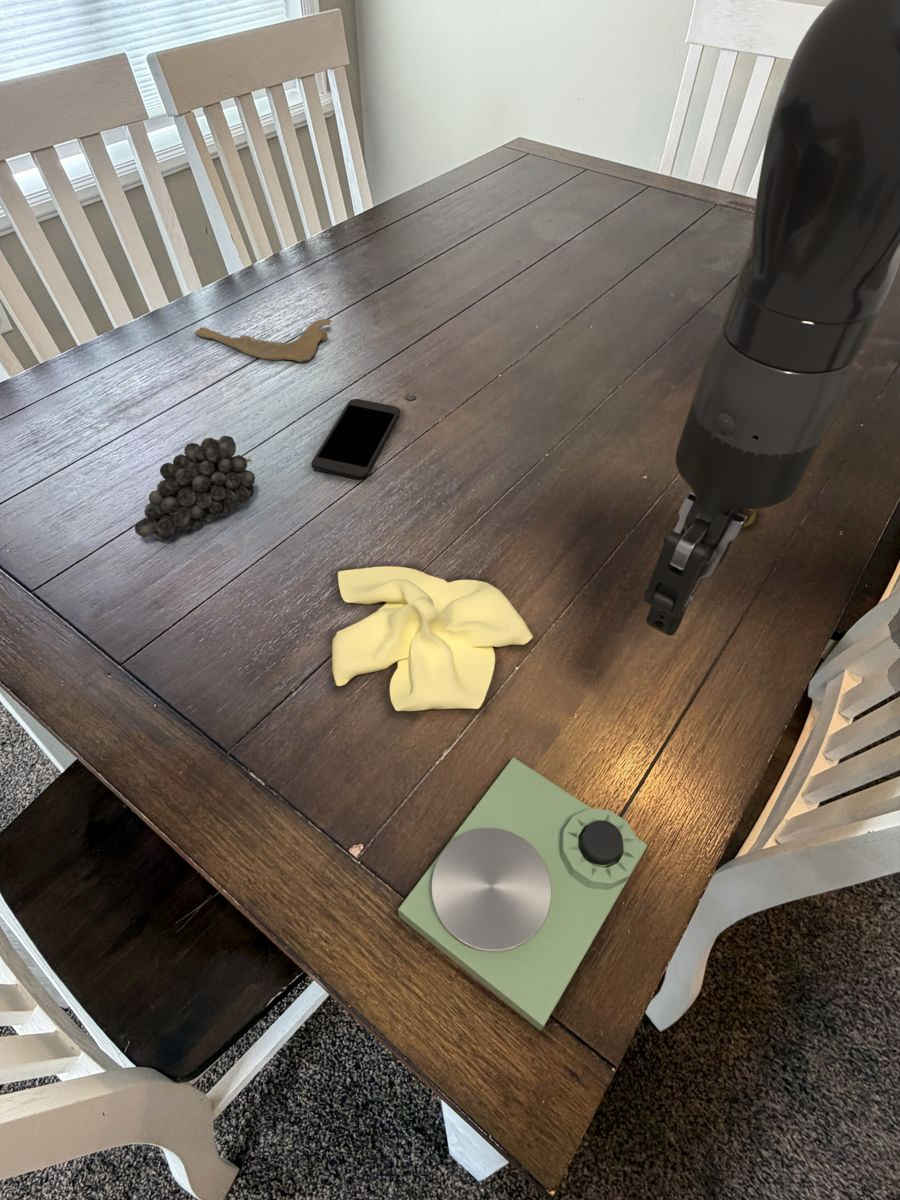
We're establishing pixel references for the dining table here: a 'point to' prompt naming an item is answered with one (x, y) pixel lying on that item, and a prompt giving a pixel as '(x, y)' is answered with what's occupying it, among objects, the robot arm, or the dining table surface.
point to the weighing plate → (491, 890)
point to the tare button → (601, 842)
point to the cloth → (425, 636)
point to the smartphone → (356, 439)
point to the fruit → (197, 488)
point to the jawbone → (275, 343)
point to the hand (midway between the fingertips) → (685, 591)
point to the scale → (577, 891)
